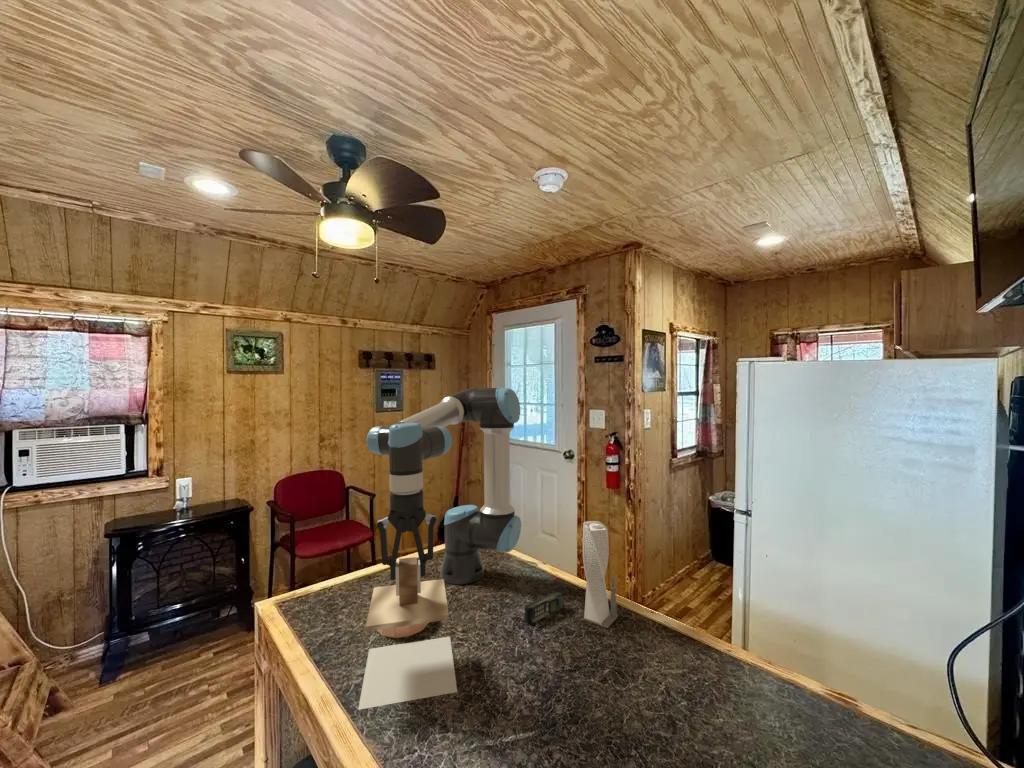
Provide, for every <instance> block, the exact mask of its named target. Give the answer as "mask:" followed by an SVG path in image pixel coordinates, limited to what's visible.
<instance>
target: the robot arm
mask: <svg viewBox="0 0 1024 768" xmlns="http://www.w3.org/2000/svg"><path fill="white" fill-rule="evenodd" d="M520 415H521V404H520V400H519V397H518V395H517V393H516V392H515V390H513V389H511V388H509V387H508V388H507V387H483V388H479V387H474V388H473V387H472V388H468V389H467V388H466V389H464V390H461V391H458V392H456V393H453V394H451V395H448V396H446V397H444V398H443V399H441V400H440V402H439V403H437V404H436V405H433V406H430V408H426V409H424V410H422V411H420V412H417V413H415V414H413V415H410V416H408V417H407V418H404V419H402V420H400V421H397V422H395V423H392V424H390V425H386V426H385V425H380V426H379V425H377V426H374V427H373V426H372V427H371V428H370V430H369V431H368V433H367V436H366V439H365V441H366V448H367V449H368V451H370V452H371V453H372V454H375V455H381V456H388V461H389V473H388V474H389V475H388V477H389V483H388V484H389V491H390V493H389V513H388V516H387V517H384V518H379V519H378V520H377V522H376V527H377V530H378V531H379V538H380V554H381V556H380V558H381V564H382V565H383V566H389V567H390V568H389V569H390V580H391V581H395V585H396V596H399V561H397V560H398V555H399V549H400V542H401V539H402V534H403V533H406V532H408V533H409V532H412V534H413V537H414V538H413V539H414V542H415V547H416V551H417V555H418V556H417V557H418V559H417V593H421V582H422V581H421V577H426V574H427V573H426V563H427V562H428V561H430V560H433V559H434V534H435V533H434V529H435V526H436V522H437V515H436V514H435V513H433V514H430V513H426V510H425V508H424V490H423V488H424V471H423V469H424V467H423V461H426V460H428V459H433V458H436V457H441V456H442V455H444V454H446V453H447V452H449V451H450V449H451V448H452V445H453V437H452V434H451V431H449V430H448V429H447V428H446V427H447V426H450V425H457V424H459V423H465V422H466V423H467V422H470V423H472V422H473V423H479V430H481V431H482V432H483V459H484V460H483V462H484V463H483V465H484V466H483V467H484V471H483V472H484V478H483V479H484V481H483V482H484V483H483V484H484V486H483V487H484V489H483V490H484V491H483V492H484V497H483V498H484V500H483V502H484V504H483V505H482V507H481V508H480V509H479V508H478V506H477V505H476V504H464V505H459V506H456V507H453V508H450V509H448V510H447V511H446V512H445V514H444V522H443V526H444V556H443V559H442V563H441V567H440V569H439V571H440V573H439V575H440V576H439V577H440V579H444V583H448V584H450V585H467V584H471V583H475V582H477V581H479V580H480V579H482V578H483V577H484V575H485V566H484V562H483V560H482V557H481V553H480V549H482V550H488V551H493V552H498V553H509V552H510V553H511V552H512V551H514V549H515V547H516V546H517V544H518V541H519V539H520V535H521V530H522V521H521V518H520V517H519V516H518V515H515V512H516V511H515V507H514V506H512V504H511V481H510V480H511V473H510V472H511V471H510V470H511V469H510V468H511V467H510V465H511V464H510V463H511V462H510V461H511V460H510V459H511V458H510V455H511V454H510V452H511V451H510V445H511V443H510V442H511V441H510V440H511V439H510V438H511V437H510V434H511V431H513V429H515V424H516V423H518V421H519V420H520ZM424 520H425V521H426V524H427V552H426V553H425V550H424V546H423V542H422V539H421V535H420V534H421V532H420V526H421V524H422V523H423V521H424ZM389 523H390V525H392V527H393V528H394V529H395V536H394V542H393V548H392V552H391V557H389V553H388V551H389V549H388V535H387V534H388V533H387V532H388V530H387V528H388V526H389Z"/></svg>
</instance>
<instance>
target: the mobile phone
mask: <svg viewBox="0 0 1024 768" xmlns="http://www.w3.org/2000/svg"><path fill="white" fill-rule="evenodd" d="M564 605H565V602H564V595H563V593H561V592H559V591H558V592H557V591H556V592H553V593H550V594H547V595H545V596H543V597H541V598H538V599H536V600H534V601H532V602H530V603H528V604H526V605H525V607H524V620H525V623H526V624H527V625H533V624H534V623H537V622H538V621H541V620H543V619H545V618H547V617H550V616H552V615H555V614H556V613H558V612H559V611H560V610H562V608H563V607H564Z"/></svg>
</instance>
